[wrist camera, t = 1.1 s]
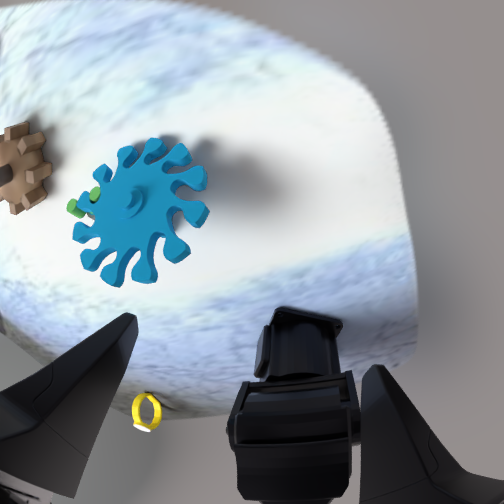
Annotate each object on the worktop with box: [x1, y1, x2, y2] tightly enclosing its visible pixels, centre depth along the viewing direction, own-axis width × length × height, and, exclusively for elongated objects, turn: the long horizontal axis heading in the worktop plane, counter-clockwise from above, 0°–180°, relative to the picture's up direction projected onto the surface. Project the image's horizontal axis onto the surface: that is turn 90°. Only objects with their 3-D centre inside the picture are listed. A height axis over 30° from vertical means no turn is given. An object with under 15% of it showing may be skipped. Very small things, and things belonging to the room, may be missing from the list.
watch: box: [132, 393, 162, 432], centre depth 34 cm, size 6×3×6 cm, turn 17°
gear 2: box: [67, 138, 210, 288], centre depth 18 cm, size 11×6×10 cm
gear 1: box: [0, 123, 52, 215], centre depth 16 cm, size 9×9×6 cm
